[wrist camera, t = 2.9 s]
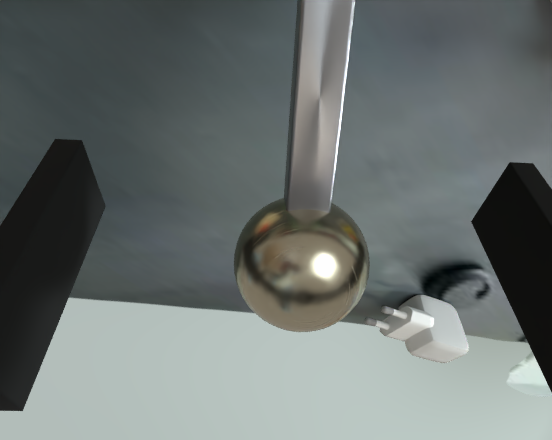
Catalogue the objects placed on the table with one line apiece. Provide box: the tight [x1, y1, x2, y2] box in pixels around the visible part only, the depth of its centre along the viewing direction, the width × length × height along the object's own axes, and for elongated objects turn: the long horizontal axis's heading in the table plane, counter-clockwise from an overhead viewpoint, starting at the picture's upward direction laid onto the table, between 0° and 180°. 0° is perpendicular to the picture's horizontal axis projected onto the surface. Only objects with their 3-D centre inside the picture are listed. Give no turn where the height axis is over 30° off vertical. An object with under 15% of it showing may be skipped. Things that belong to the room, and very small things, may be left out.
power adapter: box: [364, 295, 469, 363], centre depth 41 cm, size 11×5×6 cm, turn 60°
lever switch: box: [234, 0, 370, 332], centre depth 9 cm, size 13×4×4 cm, turn 176°
